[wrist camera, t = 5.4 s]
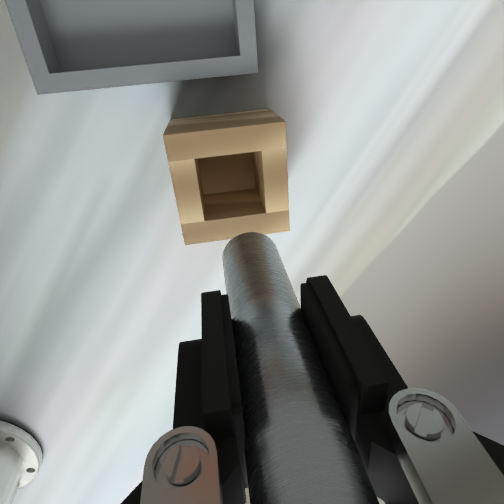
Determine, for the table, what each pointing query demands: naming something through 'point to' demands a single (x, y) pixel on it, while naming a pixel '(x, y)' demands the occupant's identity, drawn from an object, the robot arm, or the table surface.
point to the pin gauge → (286, 389)
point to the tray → (133, 41)
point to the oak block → (229, 174)
